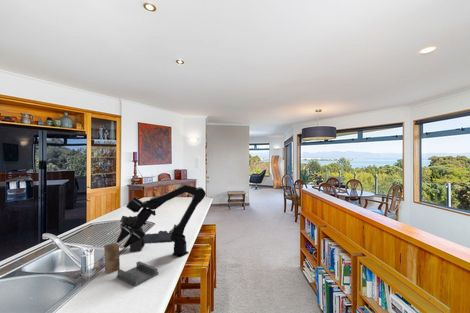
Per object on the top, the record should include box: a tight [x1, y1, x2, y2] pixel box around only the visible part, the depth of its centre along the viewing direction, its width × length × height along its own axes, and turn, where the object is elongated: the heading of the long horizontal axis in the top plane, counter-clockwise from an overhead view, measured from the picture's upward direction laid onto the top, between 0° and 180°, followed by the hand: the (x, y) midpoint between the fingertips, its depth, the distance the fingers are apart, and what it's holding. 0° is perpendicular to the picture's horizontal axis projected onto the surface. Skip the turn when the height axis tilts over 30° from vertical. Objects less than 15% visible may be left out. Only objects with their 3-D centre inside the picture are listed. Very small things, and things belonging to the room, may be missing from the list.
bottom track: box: [116, 261, 159, 287], centre depth 107 cm, size 12×14×3 cm
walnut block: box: [103, 242, 121, 274], centre depth 113 cm, size 5×5×12 cm
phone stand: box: [129, 227, 146, 253], centre depth 139 cm, size 9×6×12 cm, turn 6°
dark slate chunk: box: [144, 230, 173, 245], centre depth 155 cm, size 15×22×5 cm
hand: (120, 244), depth 116 cm, fingers open, 9 cm apart
